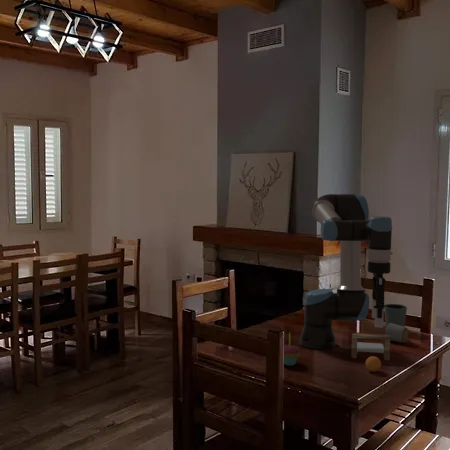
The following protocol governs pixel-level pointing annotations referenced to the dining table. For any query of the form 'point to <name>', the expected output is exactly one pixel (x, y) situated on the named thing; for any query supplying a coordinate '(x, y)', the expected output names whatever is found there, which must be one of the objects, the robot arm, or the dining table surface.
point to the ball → (373, 363)
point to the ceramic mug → (397, 333)
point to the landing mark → (370, 347)
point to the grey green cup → (395, 314)
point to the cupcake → (291, 353)
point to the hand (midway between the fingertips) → (377, 322)
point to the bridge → (371, 336)
